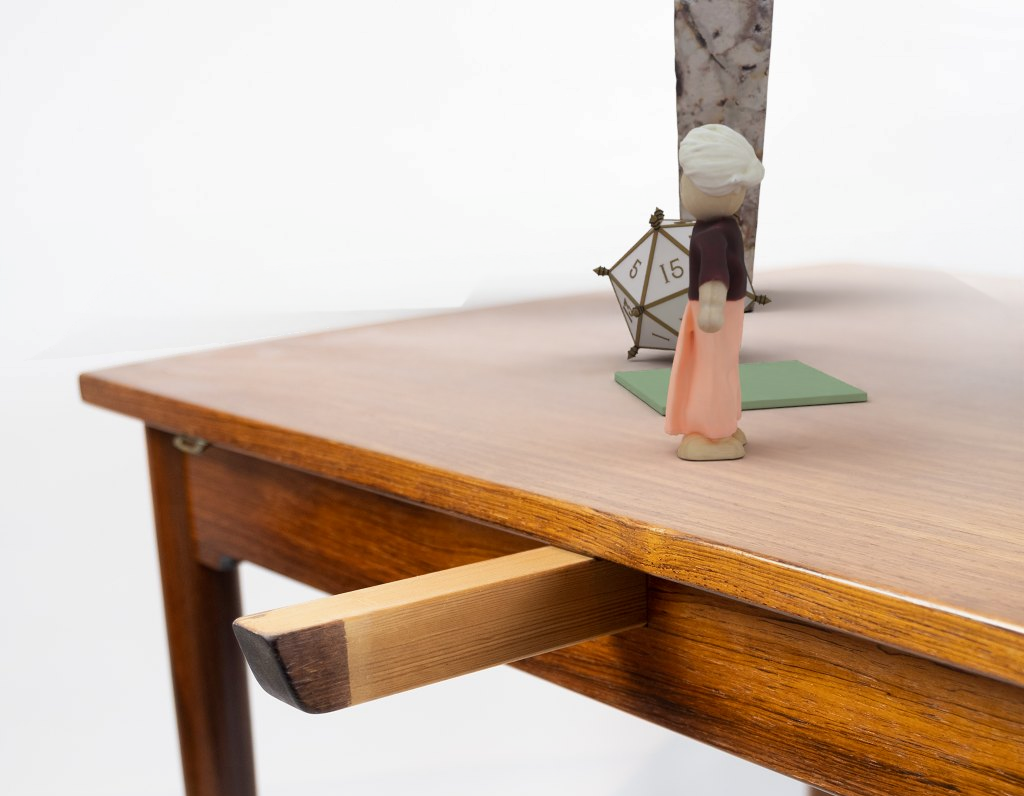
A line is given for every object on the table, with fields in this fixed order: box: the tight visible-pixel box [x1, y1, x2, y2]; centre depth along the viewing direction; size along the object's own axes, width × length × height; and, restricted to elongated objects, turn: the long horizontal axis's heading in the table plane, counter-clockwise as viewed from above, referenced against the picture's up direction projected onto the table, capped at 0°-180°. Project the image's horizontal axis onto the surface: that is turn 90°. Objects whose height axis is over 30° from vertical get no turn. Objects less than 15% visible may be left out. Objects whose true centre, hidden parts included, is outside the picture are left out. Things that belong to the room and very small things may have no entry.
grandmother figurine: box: [663, 124, 766, 461], centre depth 60 cm, size 8×4×13 cm, turn 178°
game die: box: [592, 206, 772, 361], centre depth 83 cm, size 9×8×10 cm
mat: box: [613, 359, 869, 416], centre depth 75 cm, size 10×10×1 cm
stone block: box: [673, 0, 775, 312], centre depth 103 cm, size 13×7×20 cm, turn 177°
